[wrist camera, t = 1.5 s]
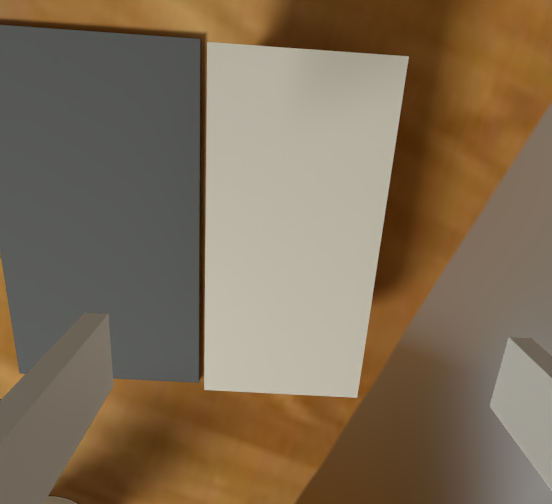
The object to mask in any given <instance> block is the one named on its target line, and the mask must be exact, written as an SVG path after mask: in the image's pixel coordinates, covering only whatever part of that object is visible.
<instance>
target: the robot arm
mask: <svg viewBox="0 0 552 504" xmlns="http://www.w3.org/2000/svg"><path fill="white" fill-rule="evenodd" d="M113 386H114V385H113V371H112V357H111V343H110V329H109V315H108V314H102V313H84V314H83V315H82V316H81V317H80V318H79V319H78V320H77V321H76V322H75V323H74V324H73V325H72V326H71V327H70V328H69V329H68V330H67V331H66V332H65V333H64V334H63V336H62V337H61V338H60V339H59V340H58V341H57V342H56V343H55V344H54V345H53V346H52V347H51V348H50V349H49V350H48V351H47V352H46V353H45V354H44V355H43V356H42V357H41V359H40V360H39V361H38V362H37V363H36V364H35V365H34V366H33V367H32V368H31V369H30V370H29V371H28V372H27V373H26V374H25V375H24V376H23V377H22V378H21V379H20V380H19V382H18V383H17V384H16V385H15V386H14V387H13V388H12V389H11V390H10V391H9V392H8V393H7V394H6V395H5V396H4V397H3V398H2V399H0V504H44V502H45V500H46V499H47V497H48V495H49V494H50V492H51V490H52V489H53V487H54V485H55V484H56V482H57V480H58V479H59V477H60V475H61V474H62V472H63V470H64V468H65V467H66V465H67V463H68V462H69V460H70V458H71V457H72V455H73V453H74V452H75V450H76V448H77V447H78V445H79V443H80V442H81V440H82V438H83V436H84V435H85V433H86V431H87V430H88V428H89V426H90V425H91V423H92V421H93V420H94V418H95V416H96V415H97V413H98V411H99V409H100V408H101V406H102V404H103V403H104V401H105V399H106V398H107V396H108V394H109V393H110V391H111V389H112V388H113ZM490 407H491V409H492V410H493V411H494V413H495V414H496V415H497V417H498V418H499V420H500V421H501V422H502V424H503V425H504V426H505V428H506V429H507V431H508V432H509V433H510V435H511V436H512V437H513V439H514V440H515V441H516V443H517V444H518V446H519V447H520V448H521V450H522V451H523V452H524V454H525V455H526V456H527V458H528V459H529V460H530V462H531V463H532V465H533V466H534V467H535V469H536V470H537V472H538V473H539V474H540V476H541V477H542V478H543V480H544V481H545V483H546V484H547V485H548V487H549V488H550V489H551V491H552V356H551V355H550V354H549V353H547V351H545V350H544V349H543V348H542V347H541V346H540V345H539V344H537V343H536V342H535V341H534V340H533V339H532V338H516V337H509V338H508V342H507V345H506V350H505V353H504V356H503V360H502V363H501V367H500V371H499V375H498V378H497V381H496V385H495V389H494V393H493V396H492V400H491V403H490Z"/></svg>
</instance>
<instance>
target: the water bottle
mask: <svg viewBox="0 0 552 504" xmlns="http://www.w3.org/2000/svg"><path fill="white" fill-rule="evenodd" d="M44 504H77V503H76V502H74V501H71V500H69V499H66V498H62V497H56V496H48V497H47V499H46V500H45V502H44Z"/></svg>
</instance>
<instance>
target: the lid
mask: <svg viewBox="0 0 552 504" xmlns="http://www.w3.org/2000/svg"><path fill="white" fill-rule="evenodd" d="M408 59H409V56H397V55H383V54H368V53H354V52H340V51H326V50H312V49H298V48H283V47H269V46H255V45H241V44H227V43H213V42H207V128H206V240H205V352H204V390H218V391H238V392H257V393H277V394H296V395H316V396H335V397H354V398H357V395H358V389H359V382H360V375H361V369H362V362H363V356H364V349H365V342H366V336H367V329H368V323H369V316H370V310H371V303H372V296H373V290H374V283H375V277H376V270H377V263H378V257H379V250H380V244H381V237H382V230H383V224H384V217H385V211H386V204H387V198H388V191H389V184H390V178H391V171H392V165H393V158H394V151H395V145H396V138H397V132H398V125H399V119H400V112H401V105H402V99H403V92H404V86H405V79H406V72H407V66H408Z"/></svg>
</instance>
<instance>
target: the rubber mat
mask: <svg viewBox="0 0 552 504" xmlns="http://www.w3.org/2000/svg"><path fill="white" fill-rule="evenodd" d="M200 206H201V39H193V38H179V37H165V36H151V35H137V34H123V33H109V32H94V31H80V30H66V29H52V28H38V27H24V26H10V25H0V253H1V259H2V265H3V272H4V278H5V284H6V291H7V297H8V303H9V309H10V316H11V322H12V328H13V334H14V341H15V347H16V353H17V359H18V366H19V372H20V373H21V374H26V373H27V372H28V371H29V370H30V369H31V368H32V367H33V366H34V365H35V364H36V363H37V362H38V361H39V360H40V359H41V357H42V356H43V355H44V354H45V353H46V352H47V351H48V350H49V349H50V348H51V347H52V346H53V345H54V344H55V343H56V342H57V341H58V340H59V339H60V338H61V337H62V336H63V334H64V333H65V332H66V331H67V330H68V329H69V328H70V327H71V326H72V325H73V324H74V323H75V322H76V321H77V320H78V319H79V318H80V317H81V316H82V315H83V314H84V313H102V314H108V315H109V329H110V343H111V357H112V371H113V378H118V379H137V380H156V381H176V382H195V383H199V380H200Z"/></svg>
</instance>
